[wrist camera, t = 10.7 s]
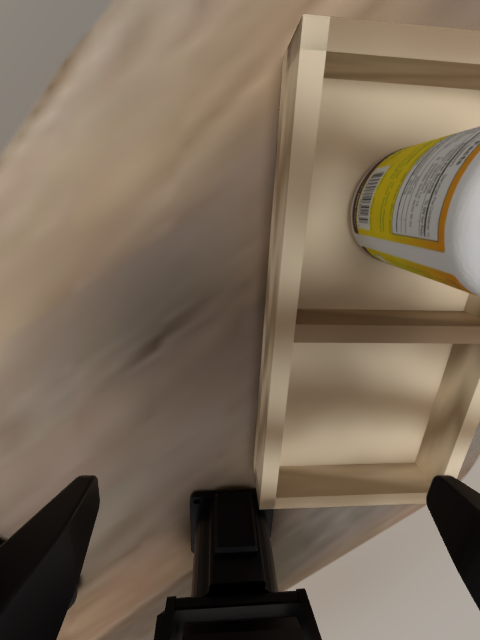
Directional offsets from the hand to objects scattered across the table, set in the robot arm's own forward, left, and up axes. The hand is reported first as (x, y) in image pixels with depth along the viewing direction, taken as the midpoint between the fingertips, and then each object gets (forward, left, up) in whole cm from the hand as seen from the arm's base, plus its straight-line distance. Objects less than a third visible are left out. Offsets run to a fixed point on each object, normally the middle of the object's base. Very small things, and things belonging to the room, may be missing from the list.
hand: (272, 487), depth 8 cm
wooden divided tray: (+1, -8, -12) cm, 14 cm away
